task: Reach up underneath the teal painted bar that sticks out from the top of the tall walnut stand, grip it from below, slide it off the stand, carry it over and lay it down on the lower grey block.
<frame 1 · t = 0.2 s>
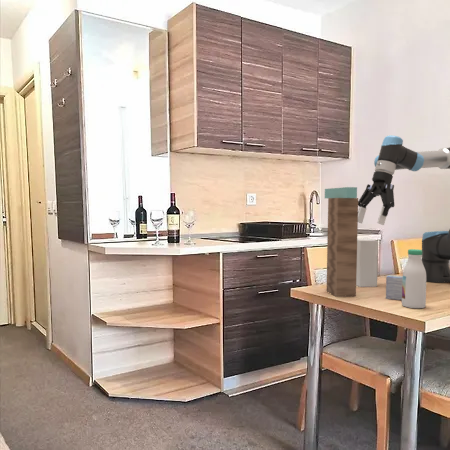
hand: (369, 223, 175), 28 cm above the table, tool tilted 20°, fingers open, 13 cm apart
grey block: (362, 284, 192), on the table
milk bottle: (413, 306, 152), on the table
teal bar: (339, 198, 173), point 38 cm above the table, touching walnut stand
walnut stand: (340, 293, 172), on the table
medicine box: (397, 299, 164), on the table
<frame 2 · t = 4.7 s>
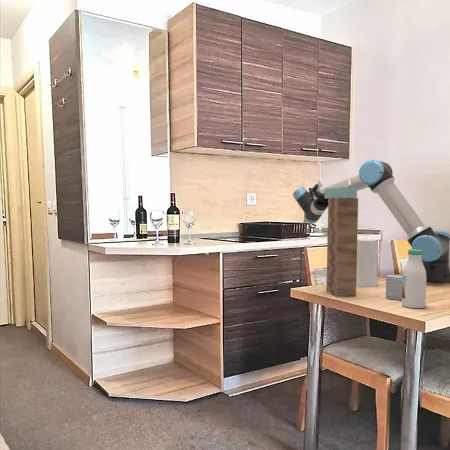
hand: (335, 181, 199), 46 cm above the table, tool pointing upward, fingers open, 13 cm apart
nothing on the table moved.
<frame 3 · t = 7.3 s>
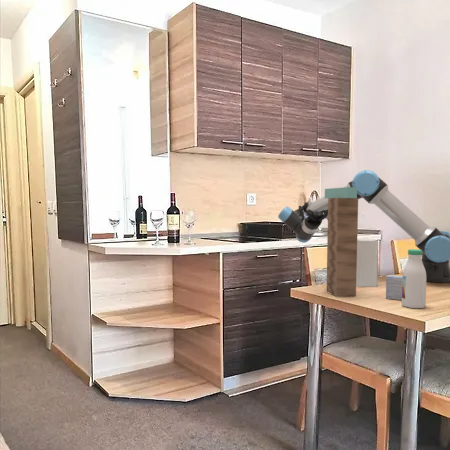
hand: (326, 199, 185), 37 cm above the table, tool pointing upward, fingers open, 13 cm apart
nothing on the table moved.
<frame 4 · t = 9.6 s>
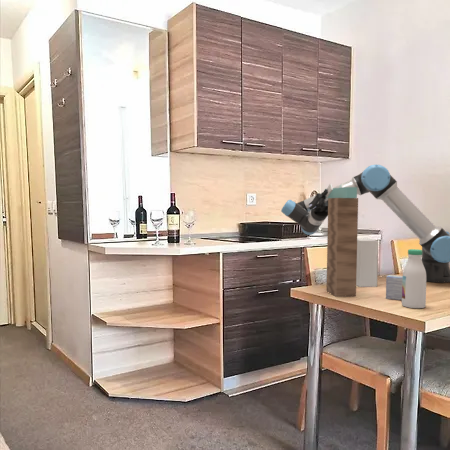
hand: (337, 186, 176), 43 cm above the table, tool pointing upward, fingers closed on teal bar, 4 cm apart
teal bar: (339, 198, 173), point 38 cm above the table, touching gripper, walnut stand
everything else where it was.
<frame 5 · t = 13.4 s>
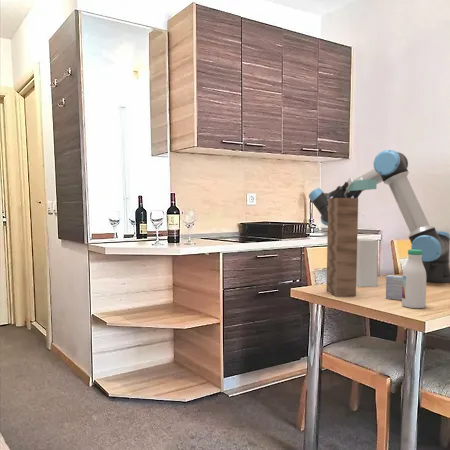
hand: (356, 179, 193), 47 cm above the table, tool pointing upward, fingers closed on teal bar, 4 cm apart
teal bar: (359, 189, 190), point 42 cm above the table, touching gripper
everything else where it was.
when the fingers open (25 cm above the table, at t = 17.4 s): teal bar stays where it is, resting on grey block.
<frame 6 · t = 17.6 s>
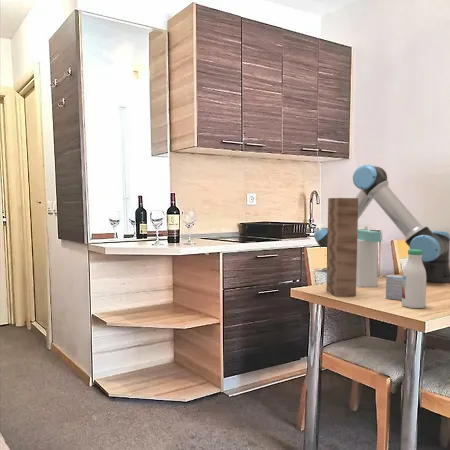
hand: (361, 227, 194), 25 cm above the table, tool pointing upward, fingers open, 6 cm apart
teal bar: (363, 239, 191), point 20 cm above the table, touching grey block
everything else where it was.
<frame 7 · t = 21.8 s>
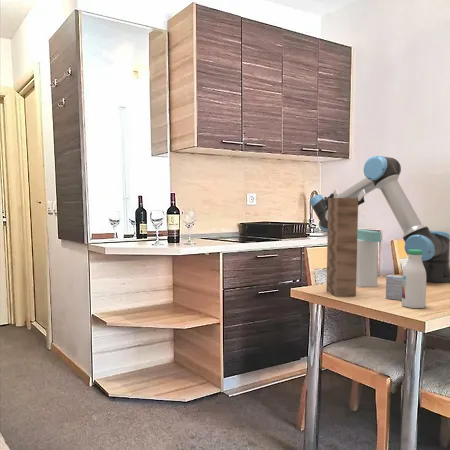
hand: (350, 191, 205), 42 cm above the table, tool pointing upward, fingers open, 13 cm apart
nothing on the table moved.
at the end: teal bar inside the target area on the grey block (0.0 cm from its centre), point 20.0 cm above the grey block's base; teal bar touching grey block; the gripper is holding nothing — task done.
